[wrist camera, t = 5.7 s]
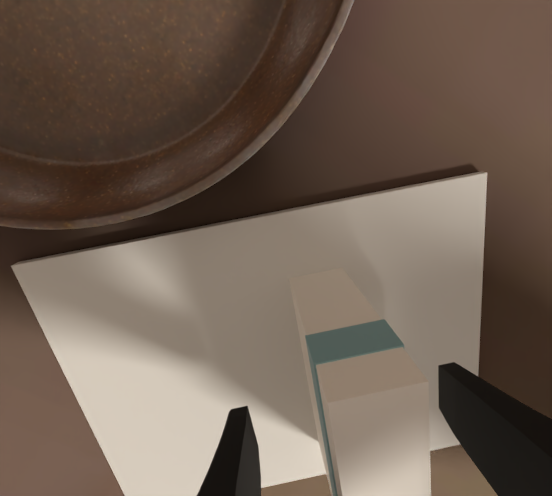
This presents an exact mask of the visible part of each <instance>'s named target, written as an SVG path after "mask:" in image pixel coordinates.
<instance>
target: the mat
mask: <svg viewBox="0 0 552 496" xmlns="http://www.w3.org/2000/svg"><path fill="white" fill-rule="evenodd" d="M486 189H487V173H486V172H476V173H470V174H465V175H460V176H455V177H450V178H445V179H440V180H435V181H430V182H424V183H419V184H414V185H409V186H404V187H399V188H394V189H389V190H384V191H378V192H373V193H368V194H363V195H358V196H353V197H348V198H343V199H337V200H332V201H327V202H322V203H317V204H312V205H307V206H302V207H297V208H291V209H286V210H281V211H276V212H271V213H266V214H261V215H256V216H251V217H245V218H240V219H235V220H230V221H225V222H220V223H215V224H210V225H205V226H199V227H194V228H189V229H184V230H179V231H174V232H169V233H164V234H159V235H153V236H148V237H143V238H138V239H133V240H128V241H123V242H118V243H112V244H107V245H102V246H97V247H92V248H87V249H82V250H77V251H72V252H66V253H61V254H56V255H51V256H46V257H41V258H36V259H31V260H26V261H20V262H17V263H15V264H13V265H12V266H11V267H12V269H13V271H14V273H15V275H16V277H17V280H18V282H19V284H20V286H21V288H22V290H23V292H24V294H25V296H26V298H27V300H28V302H29V304H30V306H31V308H32V310H33V312H34V314H35V316H36V318H37V320H38V322H39V324H40V326H41V328H42V330H43V332H44V334H45V336H46V338H47V340H48V342H49V344H50V346H51V348H52V350H53V352H54V354H55V356H56V358H57V360H58V362H59V364H60V366H61V368H62V370H63V372H64V374H65V376H66V378H67V380H68V382H69V384H70V386H71V388H72V390H73V392H74V394H75V396H76V398H77V400H78V402H79V404H80V406H81V408H82V410H83V412H84V415H85V417H86V419H87V421H88V423H89V425H90V427H91V429H92V431H93V433H94V435H95V437H96V439H97V441H98V443H99V445H100V447H101V449H102V451H103V453H104V455H105V457H106V459H107V461H108V463H109V465H110V467H111V469H112V471H113V473H114V475H115V477H116V479H117V481H118V483H119V485H120V487H121V489H122V491H123V493H124V495H125V496H197V494H198V492H199V490H200V487H201V485H202V483H203V481H204V479H205V476H206V474H207V472H208V470H209V467H210V465H211V462H212V460H213V457H214V454H215V452H216V449H217V447H218V444H219V441H220V439H221V436H222V433H223V430H224V427H225V424H226V420H227V417H228V413H229V411H230V410H231V409H234V408H239V407H244V406H248V409H249V413H250V417H251V421H252V424H253V428H254V432H255V435H256V439H257V443H258V447H259V459H260V471H261V488H263V487H268V486H272V485H277V484H282V483H286V482H291V481H295V480H300V479H304V478H309V477H314V476H318V475H323V474H326V470H325V466H324V462H323V458H322V454H321V450H320V445H319V441H318V436H317V430H316V425H315V419H314V414H313V408H312V403H311V397H310V392H309V386H308V381H307V375H306V370H305V364H304V359H303V353H302V348H301V342H300V337H299V331H298V326H297V320H296V315H295V309H294V304H293V298H292V293H291V287H290V282H289V278H293V277H298V276H303V275H308V274H313V273H318V272H323V271H328V270H333V269H338V268H343V269H344V270H345V271H346V273H347V274H348V275H349V277H350V278H351V279H352V281H353V282H354V283H355V285H356V286H357V287H358V289H359V290H360V291H361V293H362V294H363V295H364V297H365V298H366V299H367V301H368V302H369V303H370V305H371V306H372V307H373V309H374V310H375V311H376V313H377V314H378V315H379V317H380V318H381V319H385V320H386V322H387V323H388V324H389V326H390V327H391V328H392V330H393V331H394V332H395V333H396V335H397V336H398V337H399V339H400V340H401V341H402V342H403V344H404V349H405V351H406V352H407V354H408V355H409V356H410V358H411V359H412V360H413V362H414V363H415V364H416V366H417V367H418V368H419V370H420V371H421V372H422V373H423V375H424V376H425V377H426V379H427V380H428V383H429V427H430V451H432V450H437V449H442V448H446V447H451V446H455V445H460V442H459V441H458V440H457V438H456V437H455V435H454V434H453V432H452V430H451V429H450V427H449V425H448V423H447V422H446V420H445V418H444V416H443V414H442V413H441V411H440V409H439V389H438V365H442V364H447V363H452V362H455V363H457V364H458V365H460V366H462V367H463V368H465V369H467V370H468V371H470V372H471V373H473V374H475V375H476V376H478V370H479V348H480V325H481V302H482V280H483V257H484V234H485V212H486Z"/></svg>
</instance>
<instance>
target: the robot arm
mask: <svg viewBox="0 0 552 496" xmlns="http://www.w3.org/2000/svg"><path fill="white" fill-rule="evenodd" d="M438 389H439V409H440V411H441V413H442V414H443V416H444V418H445V420H446V422H447V423H448V425H449V427H450V429H451V430H452V432H453V434H454V435H455V437H456V438H457V440H458V441H459V442H460V444H461V445H462V447H463V448H464V449H465V451H466V452H467V454H468V455H469V456H470V458H471V459H472V461H473V462H474V463H475V465H476V466H477V467H478V469H479V470H480V471H481V473H482V474H483V476H484V477H485V478H486V480H487V481H488V482H489V484H490V485H491V487H492V488H493V489H494V491H495V492H496V493H497V495H498V496H552V419H550V418H548V417H546V416H544V415H543V414H541V413H539V412H537V411H535V410H533V409H532V408H530V407H528V406H526V405H524V404H523V403H521V402H519V401H518V400H516V399H514V398H512V397H511V396H509V395H507V394H506V393H504V392H502V391H501V390H499V389H497V388H496V387H494V386H492V385H491V384H489V383H488V382H486V381H484V380H483V379H481V378H479V377H478V376H476V375H475V374H473V373H471V372H470V371H468V370H467V369H465V368H463V367H462V366H460V365H458V364H457V363H455V362H452V363H447V364H442V365H438ZM197 496H261V471H260V459H259V447H258V443H257V439H256V435H255V432H254V428H253V424H252V421H251V417H250V413H249V409H248V406H244V407H239V408H234V409H231V410H230V411H229V413H228V417H227V420H226V424H225V427H224V430H223V433H222V436H221V439H220V441H219V444H218V447H217V449H216V452H215V454H214V457H213V460H212V462H211V465H210V467H209V470H208V472H207V474H206V476H205V479H204V481H203V483H202V485H201V487H200V490H199V492H198V494H197Z"/></svg>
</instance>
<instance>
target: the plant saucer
mask: <svg viewBox="0 0 552 496" xmlns="http://www.w3.org/2000/svg"><path fill="white" fill-rule="evenodd" d="M353 2H354V0H0V226H6V227H13V228H24V229H44V230H61V229H82V228H90V227H97V226H103V225H109V224H114V223H119V222H124V221H128V220H132V219H135V218H139V217H143V216H146V215H150V214H153V213H155V212H158V211H161V210H163V209H166V208H168V207H170V206H173V205H175V204H177V203H180V202H182V201H184V200H186V199H188V198H190V197H192V196H194V195H196V194H198V193H200V192H202V191H204V190H205V189H207V188H209V187H211V186H212V185H214V184H215V183H217V182H218V181H220V180H221V179H223V178H224V177H226V176H227V175H229V174H230V173H231V172H233V171H234V170H235V169H237V168H238V167H239V166H240V165H242V164H243V163H244V162H245V161H247V160H248V159H249V158H250V157H251V156H253V155H254V154H255V153H256V152H257V151H258V150H259V149H260V148H261V147H262V146H263V145H264V144H265V143H266V142H267V141H268V140H269V139H270V138H271V137H272V136H273V135H274V134H275V133H276V132H277V131H278V130H279V129H280V127H281V126H282V125H283V124H284V123H285V122H286V120H287V119H288V118H289V117H290V115H291V114H292V113H293V112H294V110H295V109H296V108H297V106H298V105H299V103H300V102H301V101H302V99H303V98H304V97H305V95H306V94H307V92H308V91H309V89H310V88H311V86H312V85H313V83H314V81H315V80H316V78H317V77H318V75H319V73H320V71H321V70H322V68H323V66H324V64H325V63H326V61H327V59H328V57H329V56H330V54H331V52H332V49H333V47H334V45H335V43H336V41H337V39H338V37H339V35H340V33H341V31H342V30H343V27H344V25H345V22H346V20H347V18H348V15H349V12H350V10H351V7H352V5H353Z"/></svg>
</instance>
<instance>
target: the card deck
mask: <svg viewBox="0 0 552 496" xmlns="http://www.w3.org/2000/svg"><path fill="white" fill-rule="evenodd" d="M289 282H290V287H291V293H292V298H293V304H294V309H295V315H296V320H297V326H298V331H299V337H300V342H301V348H302V353H303V359H304V364H305V370H306V375H307V381H308V386H309V392H310V397H311V403H312V408H313V414H314V419H315V425H316V430H317V436H318V441H319V445H320V450H321V454H322V458H323V462H324V466H325V470H326V475H327V479H328V483H329V487H330V491H331V495H332V496H431V472H430V427H429V383H428V380H427V379H426V377H425V376H424V375H423V373H422V372H421V371H420V370H419V368H418V367H417V366H416V364H415V363H414V362H413V360H412V359H411V358H410V356H409V355H408V354H407V352H406V351H405V349H404V344H403V342H402V341H401V340H400V339H399V337H398V336H397V335H396V333H395V332H394V331H393V330H392V328H391V327H390V326H389V324H388V323H387V322H386V320H385V319H381V318H380V317H379V315H378V314H377V313H376V311H375V310H374V309H373V307H372V306H371V305H370V303H369V302H368V301H367V299H366V298H365V297H364V295H363V294H362V293H361V291H360V290H359V289H358V287H357V286H356V285H355V283H354V282H353V281H352V279H351V278H350V277H349V275H348V274H347V273H346V271H345V270H344V269H343V268H338V269H333V270H328V271H323V272H318V273H313V274H308V275H303V276H298V277H293V278H289Z"/></svg>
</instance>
